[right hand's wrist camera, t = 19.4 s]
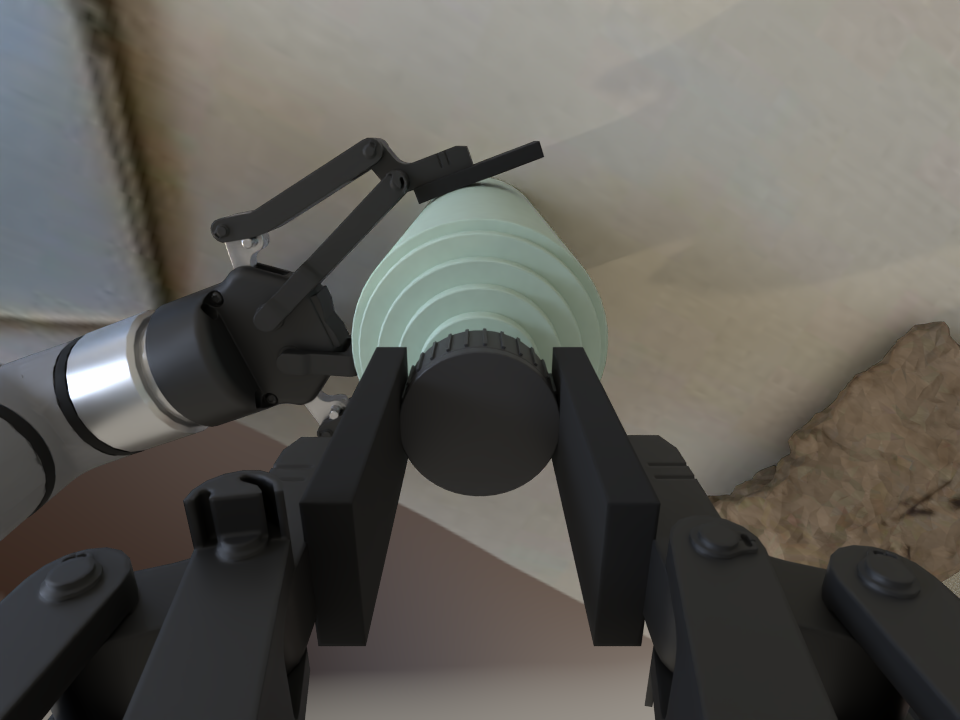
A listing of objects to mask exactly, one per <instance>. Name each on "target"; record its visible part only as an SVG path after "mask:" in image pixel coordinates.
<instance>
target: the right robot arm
mask: <svg viewBox="0 0 960 720" xmlns="http://www.w3.org/2000/svg"><path fill="white" fill-rule="evenodd" d="M552 377H553V380H554V384H555V387H556V390H557V394H555V395H556V399H557V402H558V406H559V410H560V419H559V436H558V444H557V447H556V450H555V452H554V454H553V456H552V462H553V466H554V471H555V475H556V480H557V484H558V489H559V493H560V497H561V502H562V506H563V511H564V515H565V520H566V524H567V529H568V533H569V537H570V542H571V546H572V551H573V555H574V560H575V564H576V569H577V573H578V577H579V582H580V586H581V591H582V595H583V600H584V604H585V609H586V613H587V617H588V622H589V626H590V631H591V635H592V640H593V644H594V646H641V643H642V636H643V629H644V621H646V624H647V627H648V630H649V633H650V636H651V639H652V642H653V645H654V646H653V653H652V659H651V666H650V673H649V680H648V687H647V693H646V700H645V706H650V707H652V705H653V703H654V712H655V720H914V719H913V717H912V716H911V715H910V714H909V712H908V710H909V708H910V707H911V708H912V709H913V711H914V712H915V713H916V714H917V715H918V717H919V718H920V719H921V720H960V598H958V597H957V596H956V595H955V594H954V593H953V592H952V591H951V590H949V589H948V588H947V587H946V586H945V585H944V584H943V583H942V582H941V581H939V580H938V579H937V578H936V577H935V576H934V575H932V574H931V573H929V572H928V571H927V570H925V569H924V568H922V567H921V566H920V565H918V564H917V563H915V562H913V561H911V560H909V559H907V558H905V557H902V556H900V555H898V554H896V553H894V552H891V551H888V550H883V549H881V548H876V547H872V546H860V545H851V546H846V547H841V548H838V549H837V550H836V551H835V552H834V553H833V554H832V555H831V556H830V559H829V563H828V566H827V569H823V568H818V567H814V566H809V565H804V564H800V563H795V562H790V561H786V560H782V559H779V558H775V557H772V556H769V555H768V553H767V550H766V548H765V547H764V545H763V544H762V543H761V541H760V540H759V538H758V537H757V536H755V535H754V534H753V533H751V532H750V531H749V530H747V529H746V528H745V527H743V526H741V525H738V524H736V523H734V522H732V521H729V520H727V519H723V518H721V517H720V515H719V513H718V512H717V510H716V509H715V507H714V506H713V504H712V503H711V501H710V499H709V498H708V496H707V495H706V493H705V492H704V490H703V488H702V487H701V485H700V484H699V482H698V481H697V479H694V474H693V473H692V471H691V470H690V468H689V467H688V466H686V462H685V460H684V459H683V457H682V456H681V454H680V452H679V451H678V449H677V448H676V447H674V446H673V445H672V444H670V443H669V442H667V441H666V440H664V439H663V438H662V437H660V436H659V435H627V434H626V432H625V430H624V428H623V426H622V424H621V422H620V420H619V418H618V416H617V414H616V412H615V410H614V408H613V406H612V404H611V402H610V400H609V398H608V396H607V394H606V392H605V390H604V388H603V386H602V384H601V382H600V380H599V378H598V376H597V374H596V372H595V370H594V368H593V366H592V364H591V362H590V360H589V358H588V356H587V354H586V352H585V350H584V348H583V347H553V354H552ZM407 380H408V362H407V347H376V349H375V351H374V353H373V355H372V357H371V359H370V361H369V363H368V365H367V367H366V369H365V371H364V373H363V375H362V377H361V379H360V381H359V383H358V385H357V387H356V389H355V391H354V393H353V395H352V397H351V399H350V401H349V403H348V405H347V407H346V409H345V411H344V413H343V416H342V418H341V420H340V422H339V424H338V426H337V428H336V430H335V432H334V434H333V436H332V437H301V438H299V439H298V440H297V441H295V442H294V443H292V444H291V445H290V446H288V447H287V448H285V449H284V450H283V451H282V453H281V454H280V456H279V457H278V459H277V460H276V462H275V464H274V467H273V468H271V470H270V472H269V473H268V472H265V471H261V470H242V471H237V472H232V473H227V474H223V475H220V476H218V477H215V478H213V479H210V480H207V481H206V482H204V483H202V484H201V485H199V486H198V487H196V488H195V489H193V490H192V491H191V492H190V493H189V495H188V496H187V497H186V498H185V499H184V500H183V502H184V506H185V511H186V515H187V520H188V524H189V529H190V533H191V538H192V542H193V546H194V551H193V553H192V556H191V558H189V559H187V560H183V561H179V562H176V563H172V564H167V565H162V566H158V567H153V568H148V569H144V570H139V571H135V572H133V568H132V565H131V561H130V558H129V557H128V556H127V555H126V554H125V553H124V552H123V551H121V550H117V549H112V548H107V547H106V548H95V549H86V550H83V551H78V552H76V553H71V554H69V555H65V556H63V557H61V558H59V559H57V560H55V561H53V562H51V563H49V564H47V565H45V566H43V567H42V568H40V569H39V570H38V571H36V572H35V573H33V574H32V575H31V576H29V577H28V578H26V579H25V580H24V581H23V582H22V583H21V584H20V585H18V586H17V587H16V588H15V589H14V590H13V591H12V592H11V593H10V594H9V595H7V596H6V597H5V598H4V599H3V600H2V601H1V602H0V720H42V719H43V718H44V717H45V715H46V714H47V713H48V712H49V710H50V709H51V711H52V715H51V716H50V718H49V719H48V720H305V713H306V704H307V694H308V685H309V675H310V667H309V659H308V653H307V644H308V641H309V638H310V635H311V632H312V629H313V626H314V623H315V624H316V632H317V639H318V646H366V642H367V638H368V634H369V629H370V625H371V620H372V616H373V611H374V607H375V602H376V598H377V594H378V589H379V585H380V580H381V576H382V571H383V567H384V562H385V558H386V554H387V549H388V545H389V540H390V536H391V531H392V527H393V522H394V518H395V513H396V509H397V505H398V500H399V496H400V491H401V487H402V483H403V478H404V474H405V469H406V465H407V460H408V456H407V455H406V453H405V451H404V448H403V446H402V442H401V426H400V408H401V404H402V395H403V392H404V388H405V385H406V382H407Z"/></svg>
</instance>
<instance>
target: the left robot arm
mask: <svg viewBox="0 0 960 720" xmlns="http://www.w3.org/2000/svg"><path fill="white" fill-rule="evenodd" d="M542 157H544V155H543V152H542V148H541V145H540V142H539V141H533V142H531V143H528V144H526V145H523V146H520V147H518V148H515V149H512V150H510V151H507V152H505V153H502V154H499V155H497V156H494V157H491V158H489V159H486V160H484V161H481V162H478V163H476V164H473V162H472V159H471V156H470V153H469V150H468V147H467V146H455V147H452V148H450V149H447V150H444V151H442V152H439V153H437V154H434V155H431V156H429V157H426V158H424V159H421V160H419V161H416V162H413V163H406V162H403V161H401V160H400V159H399V158H398V157H397V156H396V155H395V154H394V152H393V151H392V150H391V149H390V148H389V145H388V144H387V142H386V141H385V140H383V139H381V138H366V139H363V140H362V141H360V142H359V143H357V144H356V145H354V146H353V147H351V148H349V149H348V150H346V151H345V152H343V153H342V154H340V155H339V156H337V157H336V158H334V159H333V160H331V161H329V162H328V163H326V164H325V165H323V166H322V167H320V168H319V169H317V170H316V171H314V172H313V173H311V174H310V175H308V176H306V177H305V178H303V179H302V180H300V181H299V182H297V183H296V184H294V185H293V186H291V187H290V188H288V189H286V190H285V191H283V192H282V193H280V194H279V195H277V196H276V197H274V198H273V199H271V200H270V201H268V202H267V203H265V204H263V205H262V206H260V207H259V208H257V209H256V210H253V211H247V212H242V213H237V214H234V215H230V216H227V217H224V218H220V219H218V220H215V221H214V222H213V223H212V225H211V233H212V235H213V237H214V238H215V239H216V240H217V241H220V242H222V243H225V245H226V248H227V251H228V254H229V257H230V260H231V263H232V266H233V270H232V271H231V272H230V273H229V275H228V276H227V277H226V279H225V280H224V281H223V282H222V283H219V284H217V285H214V286H211V287H209V288H206V289H203V290H201V291H198V292H196V293H193V294H190V295H188V296H185V297H182V298H180V299H177V300H174V301H172V302H169V303H167V304H164V305H162V306H160V307H159V308H158V309H157V310H148V311H145V312H143V313H140V314H137V315H135V316H132V317H129V318H127V319H124V320H121V321H119V322H116V323H113V324H111V325H108V326H105V327H103V328H100V329H97V330H95V331H92V332H89V333H87V334H85V335H83V336H81V337H78V338H76V339H74V340H73V341H70V342H67V343H64V344H61V345H59V346H56V347H53V348H50V349H47V350H44V351H41V352H38V353H35V354H33V355H30V356H27V357H24V358H21V359H18V360H16V361H13V362H10V363H7V364H5V365H2V366H0V541H1V540H2V539H3V538H4V537H6V536H7V535H8V534H9V533H10V532H11V531H12V530H14V529H15V528H16V527H17V526H18V525H19V524H20V523H22V522H23V521H24V520H25V519H26V518H28V517H29V516H31V515H32V514H33V513H35V512H36V511H37V510H38V509H39V508H41V507H42V506H43V505H44V504H45V503H46V502H48V501H49V500H50V499H51V498H52V497H53V496H55V495H56V494H57V493H58V492H59V491H61V490H62V489H63V488H64V487H65V486H67V485H68V484H69V483H70V482H71V481H73V480H74V479H75V478H76V477H78V476H79V475H81V474H83V473H85V472H87V471H89V470H91V469H93V468H96V467H98V466H101V465H104V464H107V463H109V462H112V461H115V460H118V459H121V458H124V457H126V456H129V455H132V454H135V453H138V452H142V451H144V450H147V449H150V448H153V447H156V446H159V445H162V444H165V443H168V442H171V441H174V440H177V439H180V438H183V437H186V436H189V435H192V434H195V433H198V432H201V431H204V430H205V429H206V428H208V427H209V426H211V427H213V426H218V425H221V424H224V423H227V422H230V421H233V420H236V419H239V418H242V417H245V416H248V415H250V414H253V413H256V412H259V411H262V410H265V409H268V408H270V407H273V406H276V405H278V404H284V403H289V404H297V405H305V406H306V407H307V409H308V410H309V411H310V413H311V414H312V415H313V417H314V418H315V419H316V421H317V422H318V423H319V425H320V427H319V429H318V431H317V436H318V437H332V436H333V434H334V432H335V430H336V428H337V426H338V424H339V422H340V420H341V418H342V416H343V413H344V411H345V409H346V407H347V405H348V403H349V401H350V399H351V398H349V399H348V398H347V396H346V395H345V394H337V395H333V396H332V395H327V394H325V393H324V392H323V391H322V390H321V389H322V388H323V386H324V385H325V383H326V381H327V380H328V378H329V377H330V375H332V376H346V377H353V376H357V372H356V368H355V364H354V359H353V353H352V335H349V333H348V331H347V329H346V327H345V325H344V323H343V321H342V320H341V319H340V318H339V317H338V315H337V314H336V313H335V311H334V307H333V302H332V297H331V295H330V293H329V291H328V289H327V286H322V285H321V284H320V283H321V282H322V281H323V280H324V279H325V278H326V277H327V276H328V275H329V274H330V273H331V272H332V271H333V270H334V269H335V267H336V266H337V265H338V264H339V263H340V262H341V261H342V260H343V259H344V258H345V257H346V256H347V255H348V254H349V253H350V252H351V251H352V250H353V248H354V247H355V246H356V245H357V244H358V243H359V242H360V241H361V240H362V239H363V238H364V237H365V236H366V235H367V234H368V233H369V232H370V231H371V230H372V229H373V228H374V227H375V225H376V224H377V223H378V222H379V221H380V220H381V219H382V218H383V217H384V216H385V215H386V214H387V213H388V212H389V211H390V210H391V209H392V208H393V207H394V206H395V205H396V203H397V202H398V201H399V200H400V199H401V198H402V197H403V196H404V195H405V194H406V193H407V192H409V191H411V190H414V192H415V194H416V197H417V200H418V202H419V204H421V203H423V202H426V201H429V200H431V199H434V198H436V197H439V196H442V195H444V194H447V193H450V192H452V191H455V190H458V189H460V188H463V187H466V186H468V185H471V184H474V183H476V182H479V181H481V180H484V179H487V178H489V177H492V176H495V175H497V174H500V173H503V172H505V171H508V170H511V169H513V168H516V167H519V166H521V165H524V164H527V163H529V162H532V161H534V160H537V159H540V158H542ZM371 169H372V170H373V171H374V172H375V174H376V175H377V176H378V177H379V178H380V179H381V181H380V183H379V184H378V185H377V186H376V187H375V188H374V189H373V190H372V191H371V192H370V193H369V194H368V195H367V197H366V198H365V199H364V200H363V201H362V202H361V203H360V204H359V205H358V206H357V207H356V208H355V209H354V210H353V212H352V213H351V214H350V215H349V216H348V217H347V218H346V219H345V220H344V221H343V222H342V223H341V224H340V225H339V227H338V228H337V229H336V230H335V231H334V232H333V233H332V234H331V235H330V236H329V237H328V238H327V239H326V240H325V242H324V243H323V244H322V245H321V246H320V247H319V248H318V249H317V250H316V251H315V252H314V253H313V254H312V255H311V257H310V258H309V259H308V260H307V261H306V262H305V263H303V264H302V265H301V266H300V267H299V268H298V269H297V270H296V272H295V273H294V272H290V271H287V270H283V269H280V268H276V267H272V266H269V265H265V264H261V263H258V262H257V254H258V252H259V251H260V250H261V249H263V248H265V247H266V246H267V245H268V244H269V240H270V239H269V234H268V232H269V231H272V230H274V229H276V228H279V227H281V226H283V225H284V224H286V223H288V222H290V221H291V220H293V219H294V218H296V217H297V216H299V215H301V214H302V213H304V212H305V211H307V210H308V209H310V208H312V207H313V206H315V205H316V204H318V203H319V202H321V201H323V200H324V199H326V198H327V197H329V196H330V195H332V194H334V193H335V192H337V191H338V190H340V189H341V188H343V187H345V186H346V185H348V184H349V183H351V182H352V181H354V180H355V179H357V178H359V177H360V176H362V175H363V174H365V173H366V172H368V171H370V170H371Z"/></svg>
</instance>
